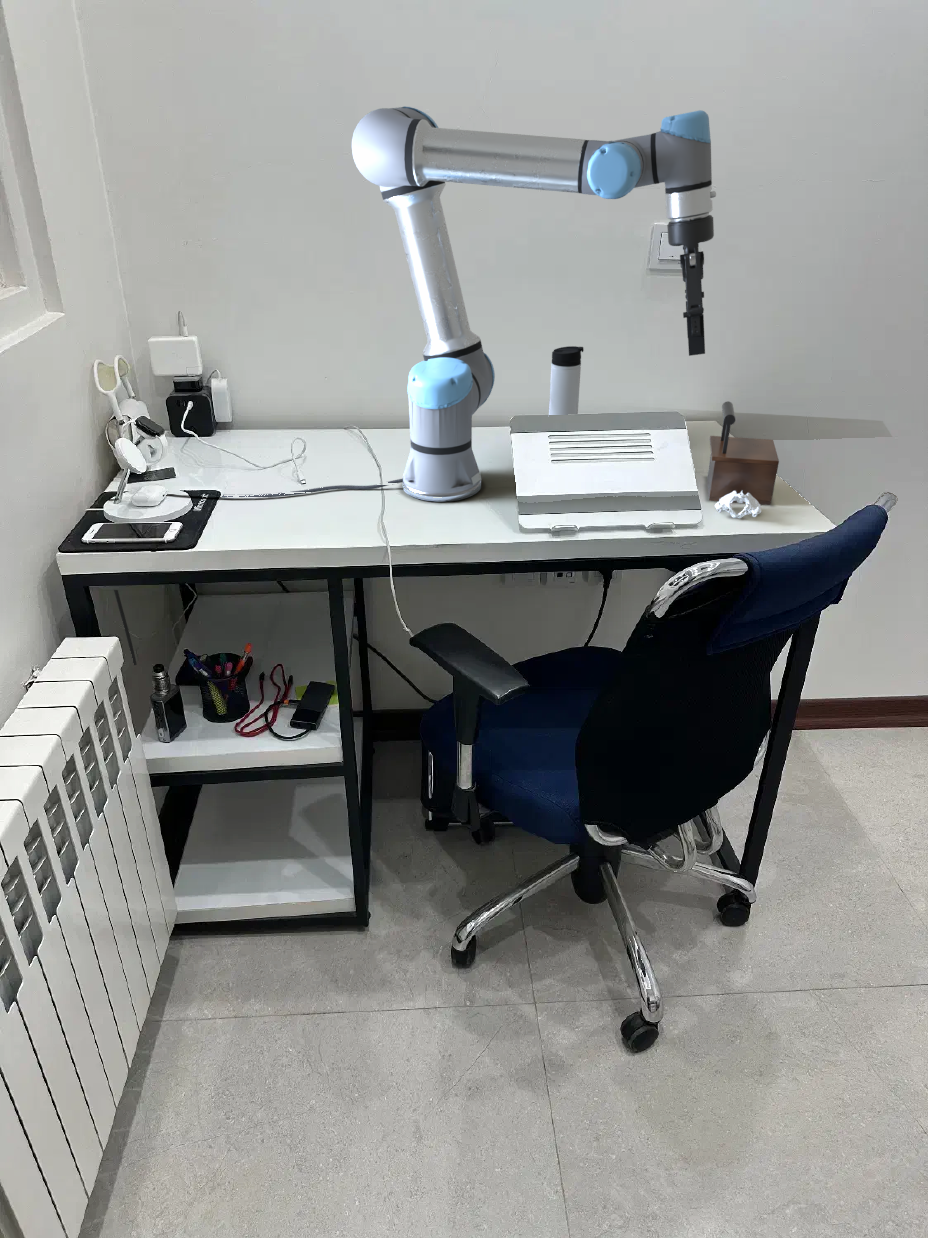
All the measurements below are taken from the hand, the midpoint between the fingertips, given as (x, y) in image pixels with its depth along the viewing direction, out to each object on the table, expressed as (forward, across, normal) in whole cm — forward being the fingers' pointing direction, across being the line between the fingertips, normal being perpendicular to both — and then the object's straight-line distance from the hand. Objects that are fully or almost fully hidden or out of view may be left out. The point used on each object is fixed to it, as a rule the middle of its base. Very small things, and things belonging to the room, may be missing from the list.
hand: (696, 345), depth 155 cm
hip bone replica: (+28, -13, -6) cm, 32 cm away
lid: (+20, -1, -7) cm, 22 cm away
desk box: (+28, -1, -6) cm, 29 cm away
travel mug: (+22, +22, +29) cm, 42 cm away
